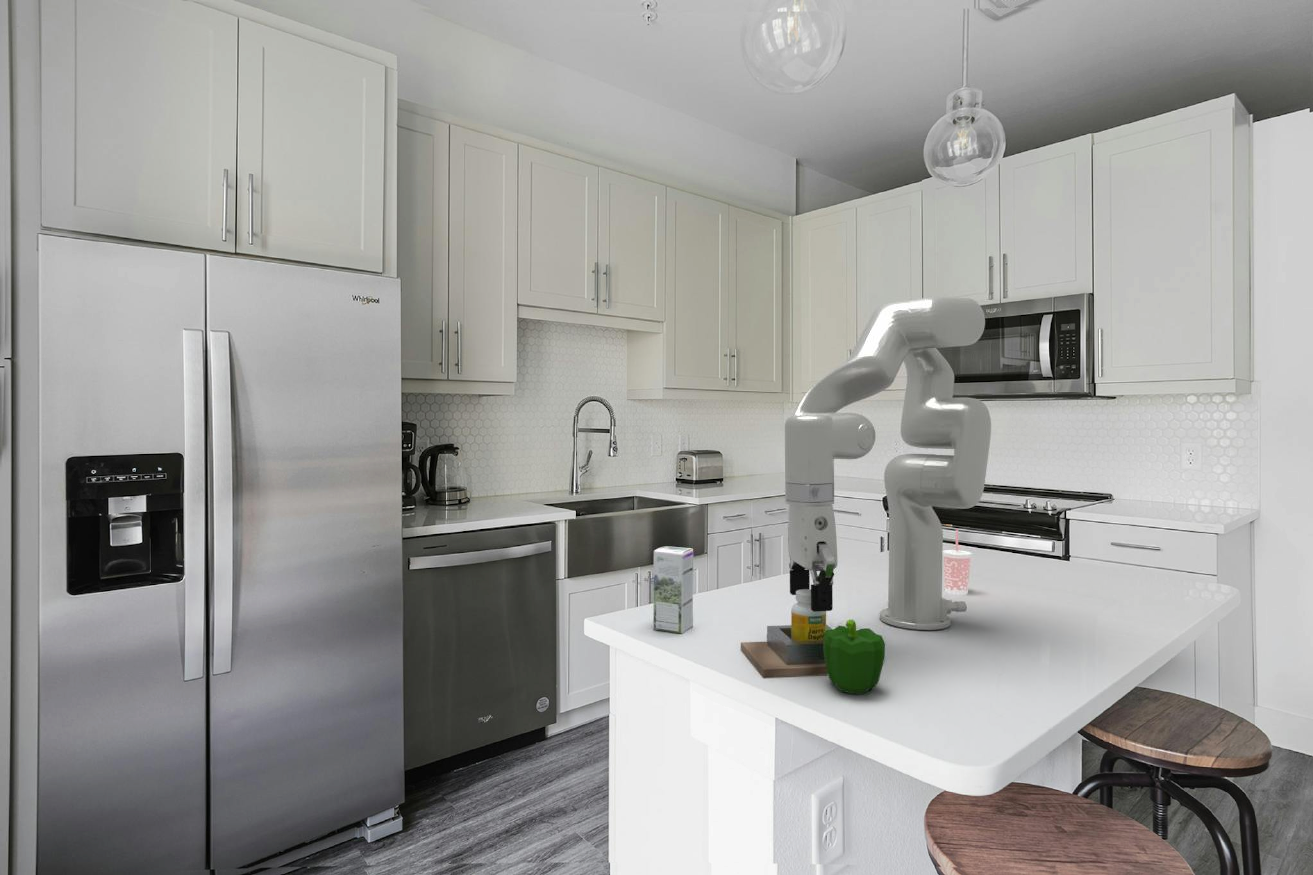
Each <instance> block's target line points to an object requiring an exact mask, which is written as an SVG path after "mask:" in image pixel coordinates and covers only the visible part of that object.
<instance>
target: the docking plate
mask: <svg viewBox="0 0 1313 875" xmlns="http://www.w3.org/2000/svg"><path fill="white" fill-rule="evenodd" d="M740 651H741V652H742V653H743V654H744V656H745V657H746V659H747V660H749V662H750V663H751V665H753V666H754V669H755V670H756V671H757V672H758V673H759V674H760V675H761V677H762V678H764V679H765V678H785V677H786V678H787V677H788V678H789V677H808V676H828V672H827V668H826V663H821V664H797V665H786V664H785V663H784V662H783V661H782V660H781V659H780V657H779V656H778V655H777V654H776V653H775V652H774V651H773V650H772V649H771V648H770V647H769V646H768V645H767V640H765V641H749V642H747V641H745V642H744V641H742V642H740Z"/></svg>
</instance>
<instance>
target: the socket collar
mask: <svg viewBox="0 0 1313 875" xmlns="http://www.w3.org/2000/svg"><path fill="white" fill-rule="evenodd" d="M833 629H834V628H832V627H830V626H829V625H828V624H827V623H826V630H833ZM766 641H767V645H768V646H769V647H770V648H771V649H772V650H773V651H774V652H775V653H776V654H777V655H778V656H779V657H780V659H781V660H782V661H783V662H784V663H785V664H786V665H797V664H821V663H825V658H824V652H823V640H820V641H794V642H793V641H792V640H791V624H788V625H786V624H785V625H767V627H766Z"/></svg>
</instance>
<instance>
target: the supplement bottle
mask: <svg viewBox="0 0 1313 875" xmlns="http://www.w3.org/2000/svg"><path fill="white" fill-rule="evenodd" d="M795 600H796V603H794V604H793V605H792V606H791V614H790V616H791V622H790V625H791V640H792V641H793V642H794V641H820V640H823V637H824V634H825V632H826V624H827V611H819V612H814V611H812V610H811V588H810V589H802V590H797V591H796V595H795Z"/></svg>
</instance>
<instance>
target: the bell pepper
mask: <svg viewBox="0 0 1313 875" xmlns="http://www.w3.org/2000/svg"><path fill="white" fill-rule="evenodd" d="M832 629H833V630H826V632H825V634H824V637H823V652H824V658H825V663H826V668H827V672H828V675H827V676H828V678H829V681H830V682H831V683H832V685H833V686H836V688H837V689H839V690H840V691H841V692H846V693H848V694H857V695H858V694H859V695H860V694H862V693H866V692H868V690H872V689H875V687H876V686H877V684H878V683H879V680H880V677H881V674H882V670H883V667H884V663H885V658H886V657H885V654H886V653H885V652H886V642H885V641H884V637H883V636H882V634H877V633H876V632H875V631H874V630H872V629H871V628H870V627H869V628H867V627H864V628H860V629H857V622H856V621H855V619H848V620H847V621H846V622H845V626H844V625H838V626H837V627H835V628H832Z"/></svg>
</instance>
